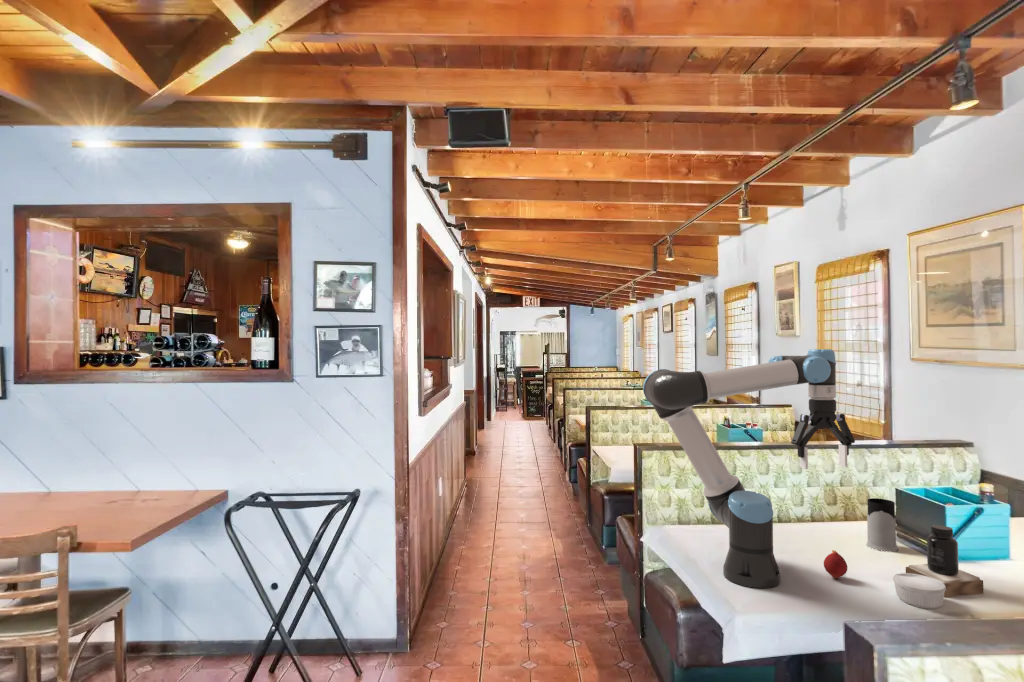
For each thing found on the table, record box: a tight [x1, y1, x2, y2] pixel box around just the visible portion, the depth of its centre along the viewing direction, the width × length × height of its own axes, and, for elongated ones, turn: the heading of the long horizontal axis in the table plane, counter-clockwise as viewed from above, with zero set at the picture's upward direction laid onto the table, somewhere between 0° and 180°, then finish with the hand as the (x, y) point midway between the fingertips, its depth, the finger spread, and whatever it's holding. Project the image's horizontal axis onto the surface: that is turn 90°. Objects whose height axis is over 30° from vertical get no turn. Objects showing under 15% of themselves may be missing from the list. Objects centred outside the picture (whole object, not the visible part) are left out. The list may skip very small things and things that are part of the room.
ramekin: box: [892, 572, 946, 610], centre depth 147 cm, size 11×11×5 cm
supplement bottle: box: [926, 524, 960, 575], centre depth 156 cm, size 7×7×12 cm
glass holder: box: [865, 497, 899, 552], centre depth 189 cm, size 9×14×15 cm, turn 148°
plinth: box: [905, 563, 984, 598], centre depth 155 cm, size 12×12×4 cm
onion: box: [823, 549, 848, 580], centre depth 161 cm, size 6×6×8 cm
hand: (823, 467), depth 176 cm, fingers open, 13 cm apart
